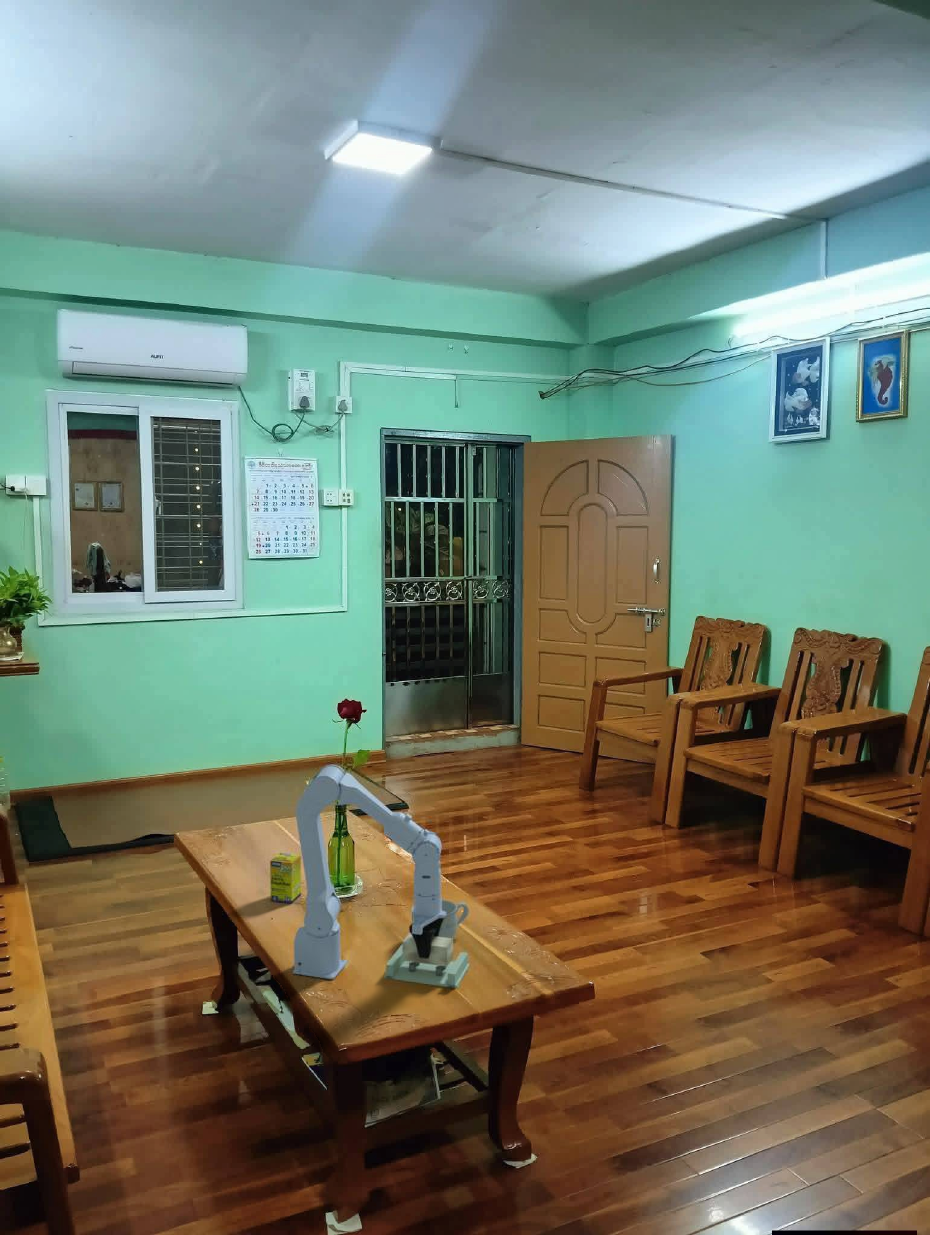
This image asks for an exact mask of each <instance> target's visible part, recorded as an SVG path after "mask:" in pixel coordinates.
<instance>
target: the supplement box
mask: <svg viewBox="0 0 930 1235" xmlns="http://www.w3.org/2000/svg"><path fill="white" fill-rule="evenodd" d="M301 858H302V854H292V853H284V852H279V853H278V854H276V855H275V856H273V858H271V859H270V861H269V864H270V866H269V870H270V871H269V872H270V876H269V877H270V901H271V902H272V901H276V903H284V904H290V903H291V904H290V905H293V903H294V902H295V901H296V900H297V899H298V898H300V897H301V895H302V859H301Z"/></svg>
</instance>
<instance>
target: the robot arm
mask: <svg viewBox="0 0 930 1235" xmlns="http://www.w3.org/2000/svg"><path fill="white" fill-rule="evenodd" d="M337 800H338V802H337V806H342V805H344V806H345V805H354V806H355V807H356V808H358V809H359V810H361V811H362V812H364V813H365V814H367V815H368V816H369V817H371V818H372V819H374V820H375V821H376V822H378V823H379V824H380V825H382V826H383V832H384V835H385V836H386V837H388V838H389V839H390V840H392V841H393V842H395V843H396V844H397V845H398V846H399V847H401V848H402V849H403V850H404V851H406V852H407V853H408V854H411V859H412V861H413V863H414V870H413V903H414V904H413V905H414V911H413V921H414V922H413V924H412V923H411V924H410V925H408V928H409V929H408V930H409V931H408V932H409V933H411V935H412V936H413V938H414V940H415V943H416V947H417V951H418V955H419V958H426V959H428V958H429V956H430V951H431V944H432V939H433V936H437V937H439V932H440V928H441V925H442V923H443V920H444V919H445V916H446V912H445V911H442V908H441V907H442V900H443V898H442V871H441V861H440V860H441V853H442V847H443V846H442V840H441V839H440V837H439V836H438V835H437V833H436V832H434V831H430V830H429V829H426V828H422V827H421V826H420V825H418V824H417V823H416V822H415V821H413V820H412V817H413V816H412V815H411V814H410V813H406V814H404V813H403V812H401V811H397V812H396V811H395V812H393V811H392V810H390V808H388V807H387V806H386V805H385V804H384V803H382V801H380V800H379V799H378V798H377V796H374V794H372V792H371V791H369V790H368V789H367V788H366V787H365V786H364V785H362V783H360V782H359V781H358V780H357V779H356V778H355V776H353V775H352V774H350V773H349V772H345V770H344V768H342V767H340V766H339V765H336V764H328V765H325V766H323V767H322V768H321V769H320V770H318V772H317V773H315V775H314V776H313V777H312V778H311V780H310V782H309V783H308V784H307V785H305V788H304V790H303V793H302V795H301V796H300V799H299V801H298V803H297V805H296V807H295V817H296V818H295V819H296V824H297V832H298V838H299V844H300V850H301V858H302V863H303V864H302V865H303V868H304V869H303V870H304V876H305V882H306V883H305V885H306V889H307V890H306V891H307V892H306V900H305V907H306V911H305V916H304V919H303V925H302V926H300V927H298V929H297V931H296V932H295V935H294V942H293V957H294V958H293V959H294V961H293V962H294V963H293V964H294V969H293V970H292V974H295V975H300V974H301V975H302V976H308V977H315V978H322V979H328V980H334V979H335V978H336V977H337V975H339V974H340V972H341V971H342V970H343V969H344V968H345V967H346V965H347V964H348V960H346V959H341V925H340V923H339V921H338V915H339V914H340V913H341V910H342V902H341V900H340V898H339V896H338V895H337V894H336V891H335V886H334V884H333V883H332V881H331V878H330V871H329V864H328V863H329V862H328V857H327V850H326V844H325V837H324V836H325V835H324V832H323V831H324V829H323V825H322V818H321V812H322V811H323V810H324V809H325V808H327V807H328V806H330V805H331V804H333V803H335V802H336V801H337ZM301 975H300V976H301Z"/></svg>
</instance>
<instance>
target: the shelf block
mask: <svg viewBox="0 0 930 1235" xmlns="http://www.w3.org/2000/svg"><path fill="white" fill-rule="evenodd" d="M401 945H402V960H403V961H410V962H418V963H425V964H432V965H439V966H446V967H447V966H448V965H449V963H450V961H453V958H454V937H453V938H445V937H437V936H433V939H432V944H431V951H430V956H429V958H428V959H426V958H419V955H418V951H417V947H416V943H415V940H414V938H413V936H412V935H411V933H410V932H409V933H408V934H406V936H405V937H404V939H403V940H402V944H401Z"/></svg>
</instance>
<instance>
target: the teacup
mask: <svg viewBox="0 0 930 1235" xmlns="http://www.w3.org/2000/svg"><path fill="white" fill-rule="evenodd" d="M441 908H442V911H445V912H446V916H445V919H444V920H443V923H442V925H441V928H440V932H439V937H445V938H453V939H454V937H455V936H456V934H457V931H458V927H459V925H460V924H461V923H462V922H464V921H465V920H466V918H467V917H468V916H469V910H470V909H469V907H468V905H467V903H465V902H461V901H460V902H457V903H454V902H453V901H450V900H447V899H442V907H441ZM460 908H463V913H462V914H461V915H460V916H459V917H458V911H459V909H460ZM413 911H414V904H413V905H412V906H411V908H410V913H411V924H413V922H414V921H413Z"/></svg>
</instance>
